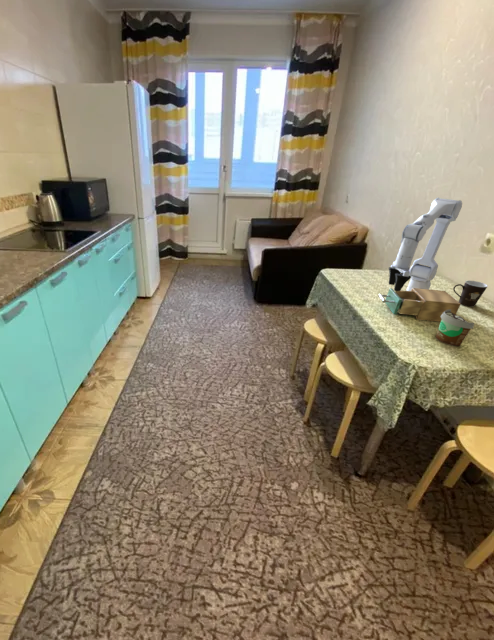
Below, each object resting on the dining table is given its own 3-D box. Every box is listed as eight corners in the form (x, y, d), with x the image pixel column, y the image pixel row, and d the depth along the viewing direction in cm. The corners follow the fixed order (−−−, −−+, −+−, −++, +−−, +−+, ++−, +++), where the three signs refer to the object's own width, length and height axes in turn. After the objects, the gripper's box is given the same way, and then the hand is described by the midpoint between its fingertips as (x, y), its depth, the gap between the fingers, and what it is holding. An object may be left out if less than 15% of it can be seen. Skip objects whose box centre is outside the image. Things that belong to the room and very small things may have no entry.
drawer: (381, 313, 140) (386, 298, 137) (373, 301, 152) (378, 287, 148) (424, 317, 138) (431, 302, 135) (413, 305, 149) (419, 290, 146)
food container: (424, 332, 129) (435, 308, 123) (439, 332, 129) (450, 308, 124) (446, 348, 118) (459, 323, 113) (462, 348, 119) (475, 323, 113)
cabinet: (417, 319, 138) (425, 300, 134) (405, 305, 151) (412, 287, 146) (451, 322, 137) (460, 303, 132) (437, 308, 149) (445, 290, 145)
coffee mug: (478, 304, 156) (489, 284, 151) (475, 309, 150) (486, 288, 145) (450, 297, 162) (459, 277, 157) (446, 301, 157) (456, 281, 152)
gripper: (389, 250, 140) (379, 281, 147) (400, 259, 128) (389, 292, 135) (407, 251, 139) (396, 282, 146) (420, 261, 127) (407, 294, 134)
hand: (394, 287), depth 140 cm, fingers open, 7 cm apart
